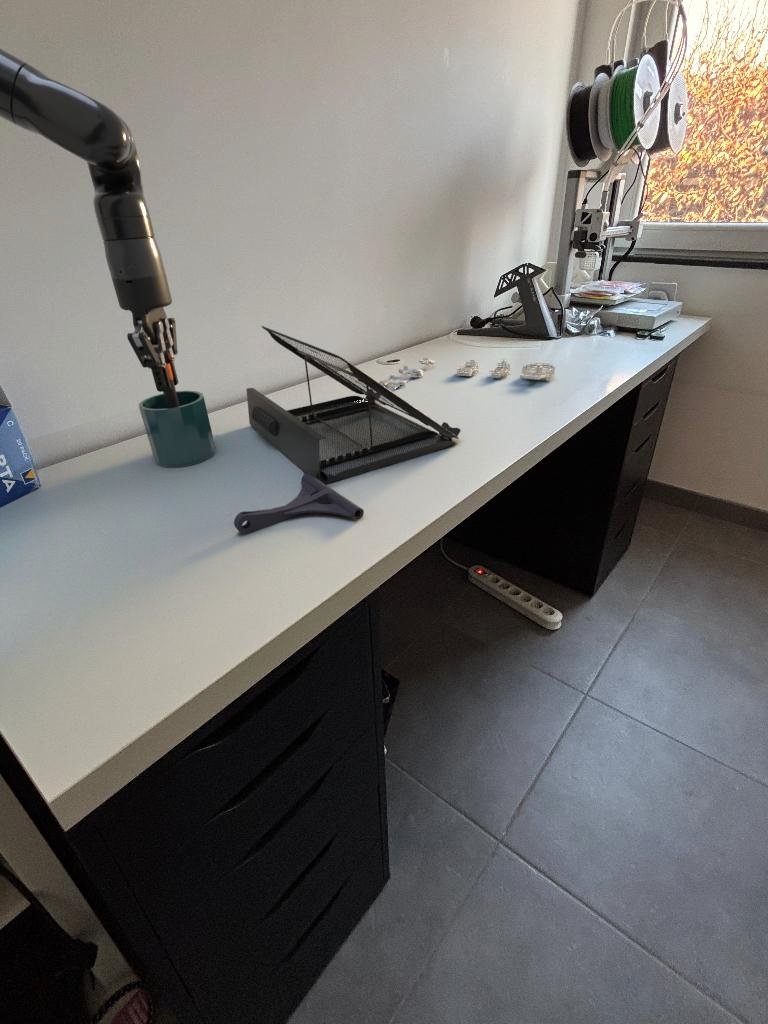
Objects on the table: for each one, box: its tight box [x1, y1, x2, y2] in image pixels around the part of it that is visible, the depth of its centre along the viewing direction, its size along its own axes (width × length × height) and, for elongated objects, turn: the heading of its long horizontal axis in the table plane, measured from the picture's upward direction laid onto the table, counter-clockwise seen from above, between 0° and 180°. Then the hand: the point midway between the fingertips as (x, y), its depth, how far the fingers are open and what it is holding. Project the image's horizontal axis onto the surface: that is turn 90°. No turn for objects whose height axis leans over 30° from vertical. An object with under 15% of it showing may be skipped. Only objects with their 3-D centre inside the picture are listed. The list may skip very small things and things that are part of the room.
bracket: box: [233, 473, 365, 535], centre depth 71 cm, size 14×15×3 cm
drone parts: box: [379, 357, 556, 391], centre depth 121 cm, size 23×35×3 cm, turn 60°
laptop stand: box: [245, 325, 462, 485], centre depth 93 cm, size 33×28×18 cm
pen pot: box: [138, 390, 217, 469], centre depth 90 cm, size 10×10×10 cm
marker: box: [162, 363, 180, 409], centre depth 87 cm, size 2×2×8 cm
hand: (168, 387), depth 87 cm, fingers closed
